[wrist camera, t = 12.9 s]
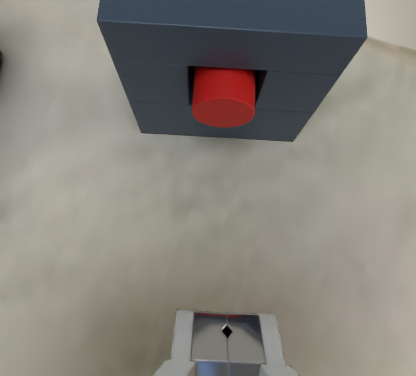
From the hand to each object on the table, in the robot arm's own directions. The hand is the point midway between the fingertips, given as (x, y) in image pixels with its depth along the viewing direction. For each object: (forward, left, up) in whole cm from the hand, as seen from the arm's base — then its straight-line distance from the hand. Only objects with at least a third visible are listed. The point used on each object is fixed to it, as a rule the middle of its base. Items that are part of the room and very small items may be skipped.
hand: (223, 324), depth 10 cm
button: (+12, 0, -8) cm, 15 cm away
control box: (+15, 0, -13) cm, 20 cm away
